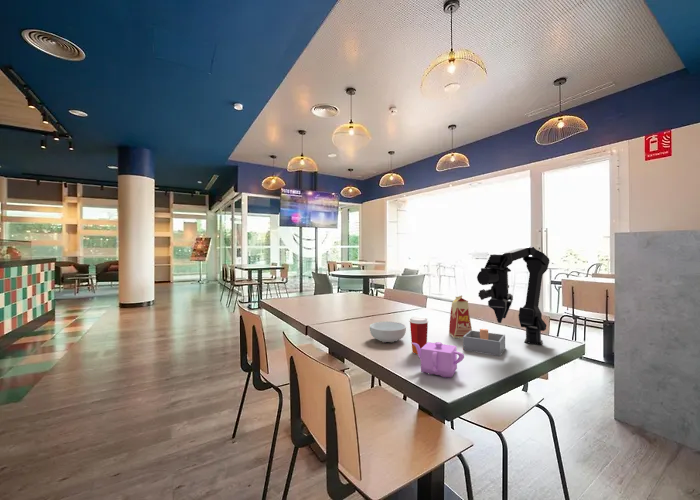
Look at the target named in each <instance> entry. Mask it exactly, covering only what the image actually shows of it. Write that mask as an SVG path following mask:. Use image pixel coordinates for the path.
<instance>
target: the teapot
mask: <svg viewBox="0 0 700 500" xmlns="http://www.w3.org/2000/svg"><path fill="white" fill-rule="evenodd" d="M412 344H413V345H414V346H415V347H416V349H417V353H418V354H417V356H418V358H419V360H420V372H421V373H426V374H427V373H429V374H433V375H437V376H441V377H442V378H444V377H446V378H452V377H453V376H454V374H455V372H456V370H457V369H458V364H459V363H460V362H462V361H463V360H464V358H465V354H463V353H462V352H460V351H458V350H457V345H451V344H446V343H445V344H444V343H442V342H440V341H438V342H429V341H427V343H426V344H425V345H424V346H423V347H422V348H421V349H420V346H419V345H418V344H417V343H412V342H411V345H412ZM429 374H428V375H429Z"/></svg>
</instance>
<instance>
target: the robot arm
mask: <svg viewBox="0 0 700 500" xmlns="http://www.w3.org/2000/svg"><path fill="white" fill-rule="evenodd" d="M521 259H522V260H523V261H524V262H525V263H526V268H527V271H528V273H529V276H528V282H527V283H528V285H527V290H526V297H525V304H524V305H523V307H519V313H518V315H517V316H518V321H519V324H520V327H521V328H525V339H524V343H526V344H532V345H538V346H542V345H543V340H542V333H541V332H544V331H546V330H547V323H545V321H544V320H543V318H542V317H543V315H542V312H541V310H540V307H539V306H540V305H539V304H540V296H541V290H542V289H541V287H542V280H543V276H544V274H545V273H546V272H547V271H548V268H549V264H550V258H549V257H548V256H547V254H545V253H544V252H542V251H540V250H538V249H537V248H535V247H534V246H530V245H529V246H528V245H527V246H521V247H520V248H516V249H512V250H509V251H506V252H492V253H490V255H489V257H488V259H487V262H486V264H485V265H484V267H481V268H480V271H479V272H478V273H477V275H476V279H477V282H478V284H479V285H482V286H487V285H488V286H489V285H491V286H490V288H489V289H486V290H485V289H480V290H479V292H478V297H479V298H480V301H483V300H485V299H488V298H490V299H489V300H488V301H487V307H489V308H490V309H492V310H493V311H494V315H495V318H496V321H497V323H499V324H501V323H502V321H503V319H506V318H507V315H508V312H509V311H510V309H511V308H510V307H511V306H512V303H513V300H514V295H513V294H511V293H509V289H510V285H509V272H511V271H512V270H511V269H510V268H509V266H511V265H512V264H513V262H514V261H518V260H521Z"/></svg>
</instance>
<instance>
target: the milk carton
mask: <svg viewBox="0 0 700 500" xmlns="http://www.w3.org/2000/svg"><path fill="white" fill-rule="evenodd" d="M469 309H470V308H469V301H468V300H466V299H464V298H463V295H459V296H455V299H454V300H453V301H452V302H451V307H450V312H449V313H450V314H449V316H450V317H449V324H448V325H449V326H448V327H449V328H448V329H449V330H448V334H449V335H450V336H452V337H453V338H454V339H463V336H464V335H466V334H467V333H468V332H469V331H470V330H472V331H473V329H472V323H471V317H470V316H471V315H470V310H469Z"/></svg>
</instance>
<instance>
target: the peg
mask: <svg viewBox="0 0 700 500" xmlns="http://www.w3.org/2000/svg"><path fill="white" fill-rule="evenodd" d="M479 331H480V339H486V340H488V333H489V329H487V328H480V329H479Z"/></svg>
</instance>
